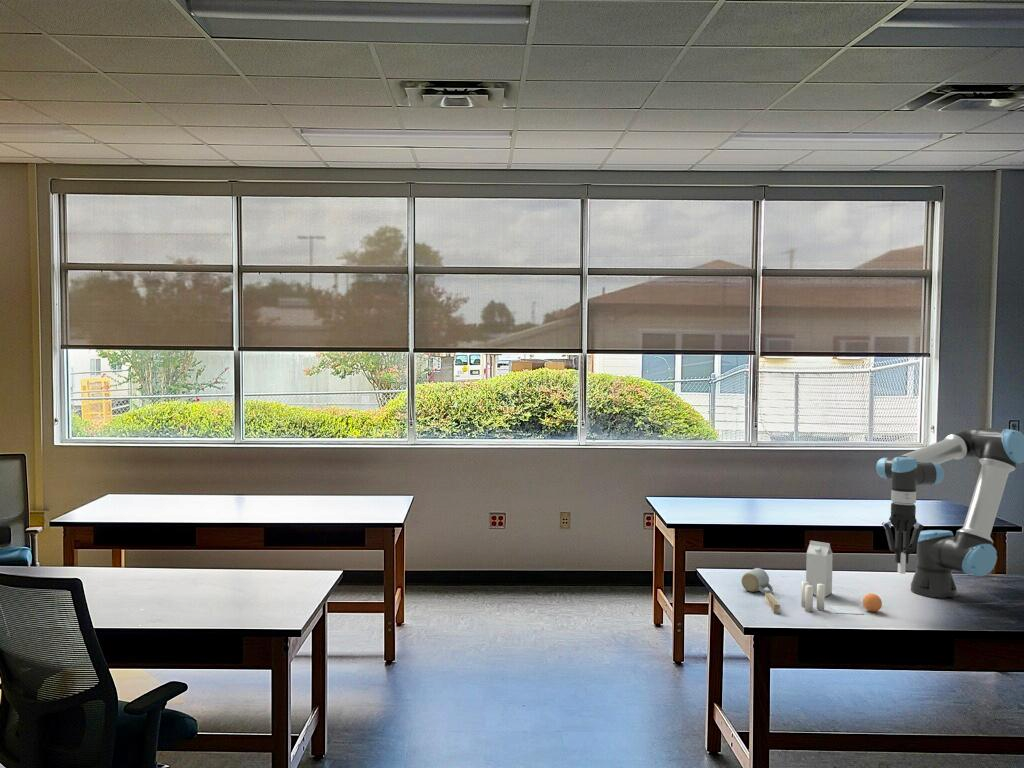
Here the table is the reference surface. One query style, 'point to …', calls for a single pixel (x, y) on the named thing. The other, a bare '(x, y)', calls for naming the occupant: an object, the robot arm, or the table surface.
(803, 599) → the pin
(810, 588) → the pin
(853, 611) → the white square tile
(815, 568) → the milk carton
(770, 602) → the bar
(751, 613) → the table surface
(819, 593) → the pin front
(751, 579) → the ceramic mug
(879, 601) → the ball
